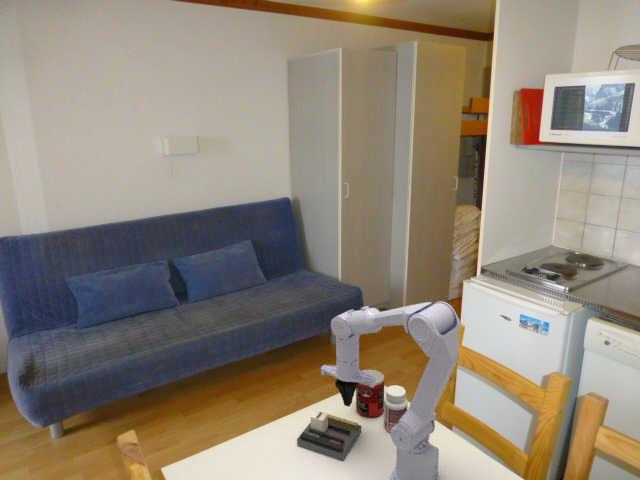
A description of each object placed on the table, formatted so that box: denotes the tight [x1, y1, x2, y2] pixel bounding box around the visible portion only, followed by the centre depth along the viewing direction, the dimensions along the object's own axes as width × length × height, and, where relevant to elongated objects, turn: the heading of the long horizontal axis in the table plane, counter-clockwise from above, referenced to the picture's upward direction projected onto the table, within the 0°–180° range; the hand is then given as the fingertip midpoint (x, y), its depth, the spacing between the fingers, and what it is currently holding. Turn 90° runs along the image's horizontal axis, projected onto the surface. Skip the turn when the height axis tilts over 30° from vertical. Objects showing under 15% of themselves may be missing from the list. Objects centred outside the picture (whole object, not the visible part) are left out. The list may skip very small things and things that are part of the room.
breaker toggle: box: [310, 410, 328, 433], centre depth 124 cm, size 4×3×4 cm
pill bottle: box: [383, 385, 408, 433], centre depth 127 cm, size 6×6×11 cm
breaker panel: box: [296, 411, 362, 462], centre depth 124 cm, size 13×12×3 cm
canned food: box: [355, 369, 385, 419], centre depth 134 cm, size 8×8×11 cm
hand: (348, 403), depth 122 cm, fingers closed
